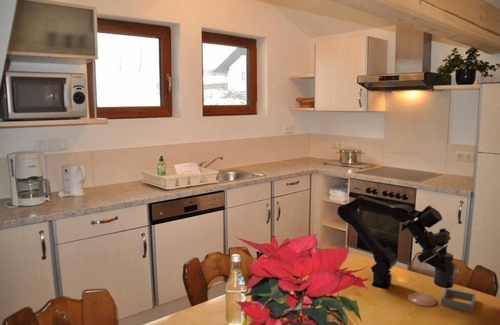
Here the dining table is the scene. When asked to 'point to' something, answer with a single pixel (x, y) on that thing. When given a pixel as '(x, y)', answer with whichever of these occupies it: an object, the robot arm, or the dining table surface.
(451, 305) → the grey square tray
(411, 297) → the coaster
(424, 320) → the dining table surface
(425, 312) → the dining table surface
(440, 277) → the supplement bottle
